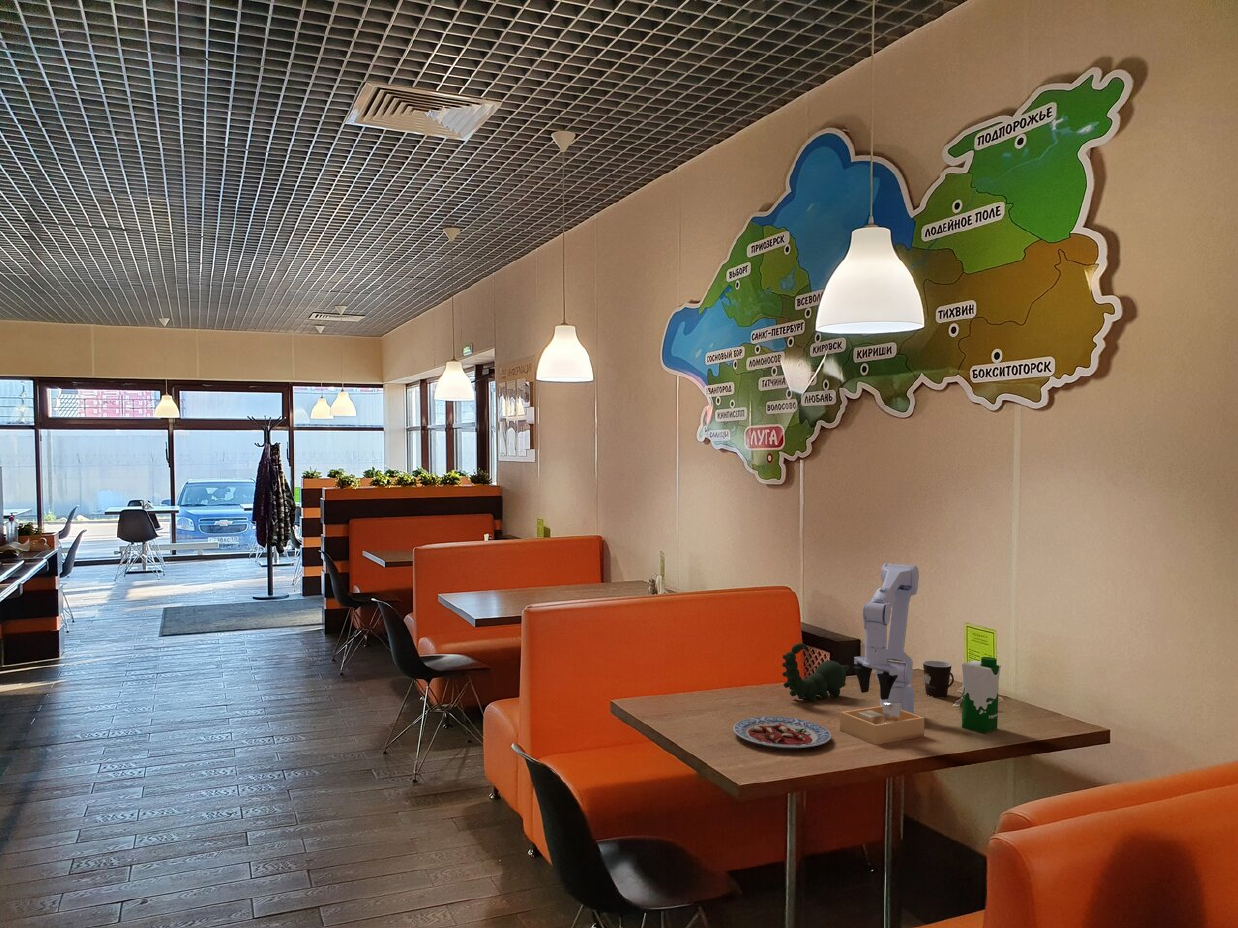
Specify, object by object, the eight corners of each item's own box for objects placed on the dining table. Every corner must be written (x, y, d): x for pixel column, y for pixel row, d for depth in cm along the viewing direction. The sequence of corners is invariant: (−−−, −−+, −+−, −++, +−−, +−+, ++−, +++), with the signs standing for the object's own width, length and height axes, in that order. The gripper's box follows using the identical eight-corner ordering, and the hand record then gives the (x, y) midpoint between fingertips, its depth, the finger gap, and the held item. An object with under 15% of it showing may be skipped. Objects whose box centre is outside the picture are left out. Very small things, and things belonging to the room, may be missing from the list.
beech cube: (870, 728, 249) (871, 710, 249) (884, 733, 245) (884, 714, 245) (857, 730, 247) (857, 712, 247) (870, 735, 243) (870, 717, 243)
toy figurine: (797, 711, 273) (860, 695, 284) (794, 649, 272) (858, 635, 283) (778, 703, 281) (840, 687, 293) (775, 643, 280) (837, 630, 292)
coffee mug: (919, 690, 294) (920, 659, 293) (947, 692, 292) (948, 661, 292) (926, 700, 282) (927, 668, 282) (955, 702, 281) (956, 669, 281)
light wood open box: (887, 722, 258) (887, 704, 258) (923, 735, 246) (924, 717, 246) (839, 729, 250) (840, 711, 250) (875, 744, 238) (875, 725, 238)
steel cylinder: (894, 724, 253) (894, 699, 253) (905, 729, 248) (905, 704, 248) (878, 726, 251) (878, 701, 251) (889, 731, 247) (889, 706, 246)
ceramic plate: (755, 757, 226) (756, 746, 226) (718, 726, 251) (719, 716, 251) (849, 751, 233) (849, 740, 233) (804, 722, 258) (804, 711, 258)
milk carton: (988, 734, 248) (990, 662, 248) (956, 727, 255) (958, 656, 254) (1002, 728, 254) (1003, 657, 254) (970, 721, 261) (972, 652, 260)
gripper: (846, 642, 253) (845, 690, 254) (884, 653, 241) (882, 703, 241) (865, 640, 257) (864, 687, 257) (903, 650, 244) (902, 700, 244)
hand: (874, 695), depth 249 cm, fingers open, 7 cm apart
